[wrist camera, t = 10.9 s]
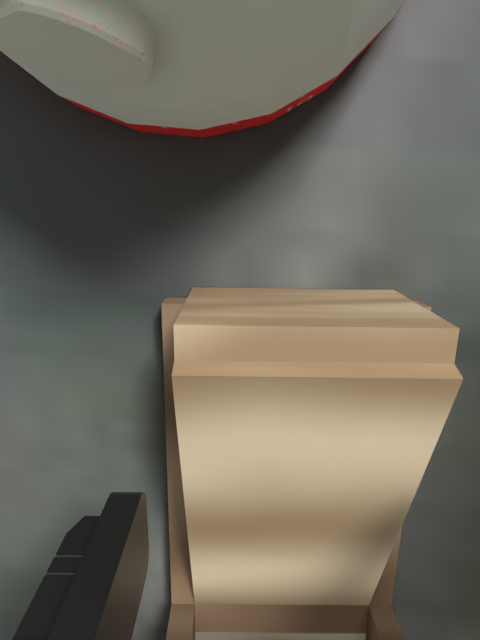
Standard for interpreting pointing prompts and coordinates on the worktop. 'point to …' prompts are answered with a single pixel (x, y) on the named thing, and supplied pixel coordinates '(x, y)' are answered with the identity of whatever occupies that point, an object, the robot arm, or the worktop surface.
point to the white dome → (189, 56)
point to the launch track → (296, 456)
